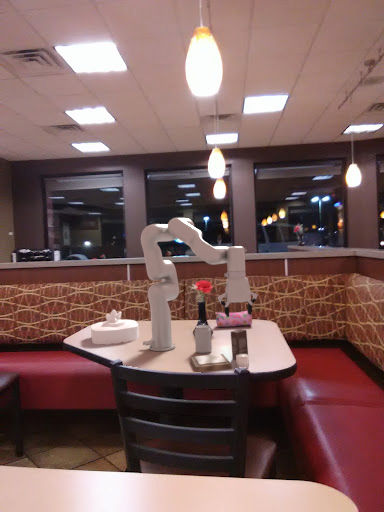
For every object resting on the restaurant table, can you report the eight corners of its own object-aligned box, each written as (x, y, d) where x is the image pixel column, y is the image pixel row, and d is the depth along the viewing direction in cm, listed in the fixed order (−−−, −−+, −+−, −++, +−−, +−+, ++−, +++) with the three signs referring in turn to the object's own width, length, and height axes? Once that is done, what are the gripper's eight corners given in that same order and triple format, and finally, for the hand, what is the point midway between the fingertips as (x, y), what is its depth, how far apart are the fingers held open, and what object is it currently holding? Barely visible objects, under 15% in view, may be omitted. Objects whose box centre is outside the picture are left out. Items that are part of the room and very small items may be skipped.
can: (206, 354, 178) (205, 328, 178) (192, 353, 182) (191, 327, 182) (214, 350, 185) (213, 324, 184) (201, 348, 189) (199, 323, 188)
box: (240, 355, 174) (239, 328, 174) (248, 357, 171) (247, 329, 170) (231, 359, 170) (230, 331, 170) (239, 361, 167) (238, 332, 166)
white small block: (238, 369, 157) (237, 358, 156) (235, 365, 161) (234, 354, 161) (250, 368, 157) (250, 356, 157) (247, 364, 162) (246, 353, 162)
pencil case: (216, 329, 230) (215, 313, 229) (215, 325, 239) (214, 310, 239) (253, 327, 230) (252, 311, 230) (250, 323, 239) (250, 308, 239)
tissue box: (90, 336, 228) (88, 308, 227) (134, 331, 235) (132, 304, 234) (93, 346, 204) (91, 315, 203) (141, 340, 211) (140, 310, 211)
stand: (196, 372, 155) (196, 365, 155) (191, 361, 169) (190, 355, 169) (231, 368, 158) (231, 362, 158) (223, 358, 171) (222, 352, 171)
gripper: (218, 277, 165) (221, 318, 165) (259, 274, 167) (260, 315, 168) (214, 275, 172) (216, 315, 173) (253, 273, 175) (255, 312, 175)
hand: (238, 315), depth 170 cm, fingers open, 9 cm apart
